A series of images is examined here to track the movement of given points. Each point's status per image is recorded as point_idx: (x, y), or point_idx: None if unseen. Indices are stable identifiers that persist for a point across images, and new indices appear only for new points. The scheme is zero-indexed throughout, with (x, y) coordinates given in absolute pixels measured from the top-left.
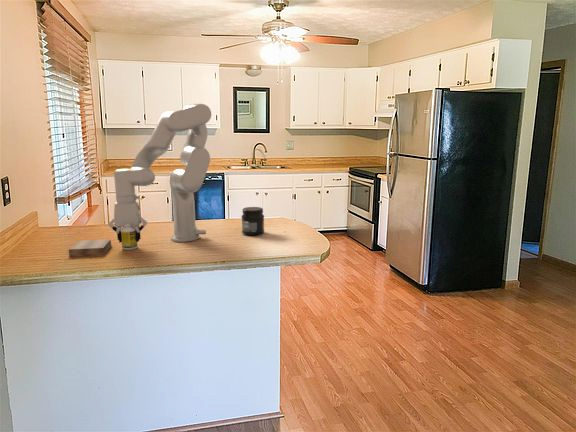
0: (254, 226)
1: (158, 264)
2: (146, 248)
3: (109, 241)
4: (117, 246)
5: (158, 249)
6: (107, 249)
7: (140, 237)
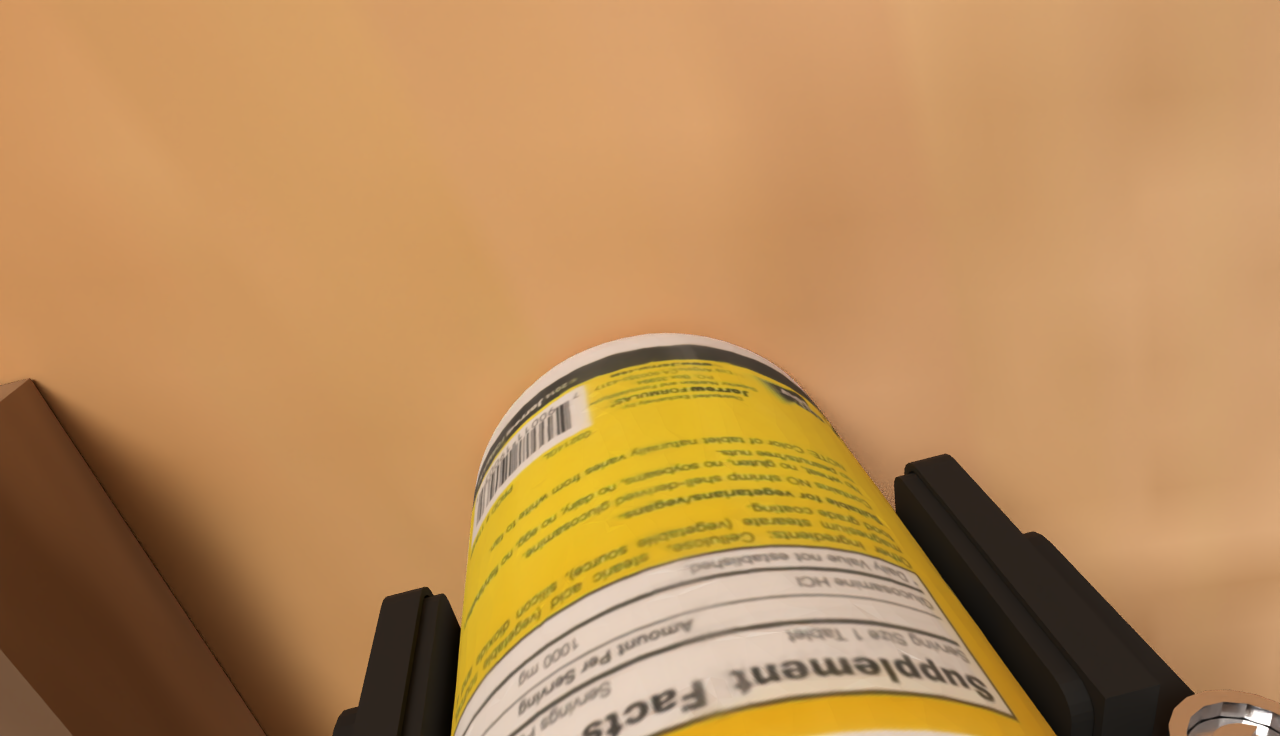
0: None
1: None
2: (1027, 448)
3: (15, 635)
4: (233, 375)
5: (1267, 480)
6: (225, 711)
7: (1048, 551)
